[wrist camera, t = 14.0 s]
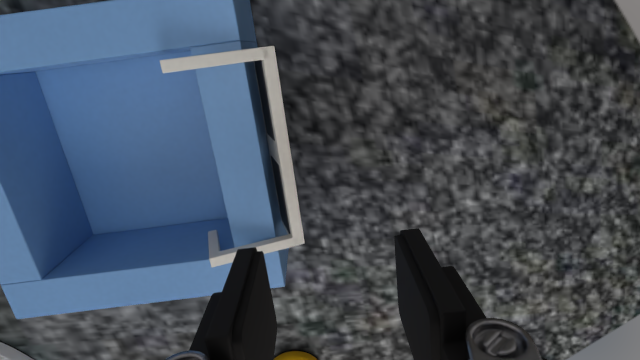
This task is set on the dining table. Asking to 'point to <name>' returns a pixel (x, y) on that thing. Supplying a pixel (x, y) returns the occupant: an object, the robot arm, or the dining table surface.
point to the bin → (128, 155)
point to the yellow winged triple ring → (295, 356)
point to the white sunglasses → (275, 138)
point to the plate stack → (11, 353)
